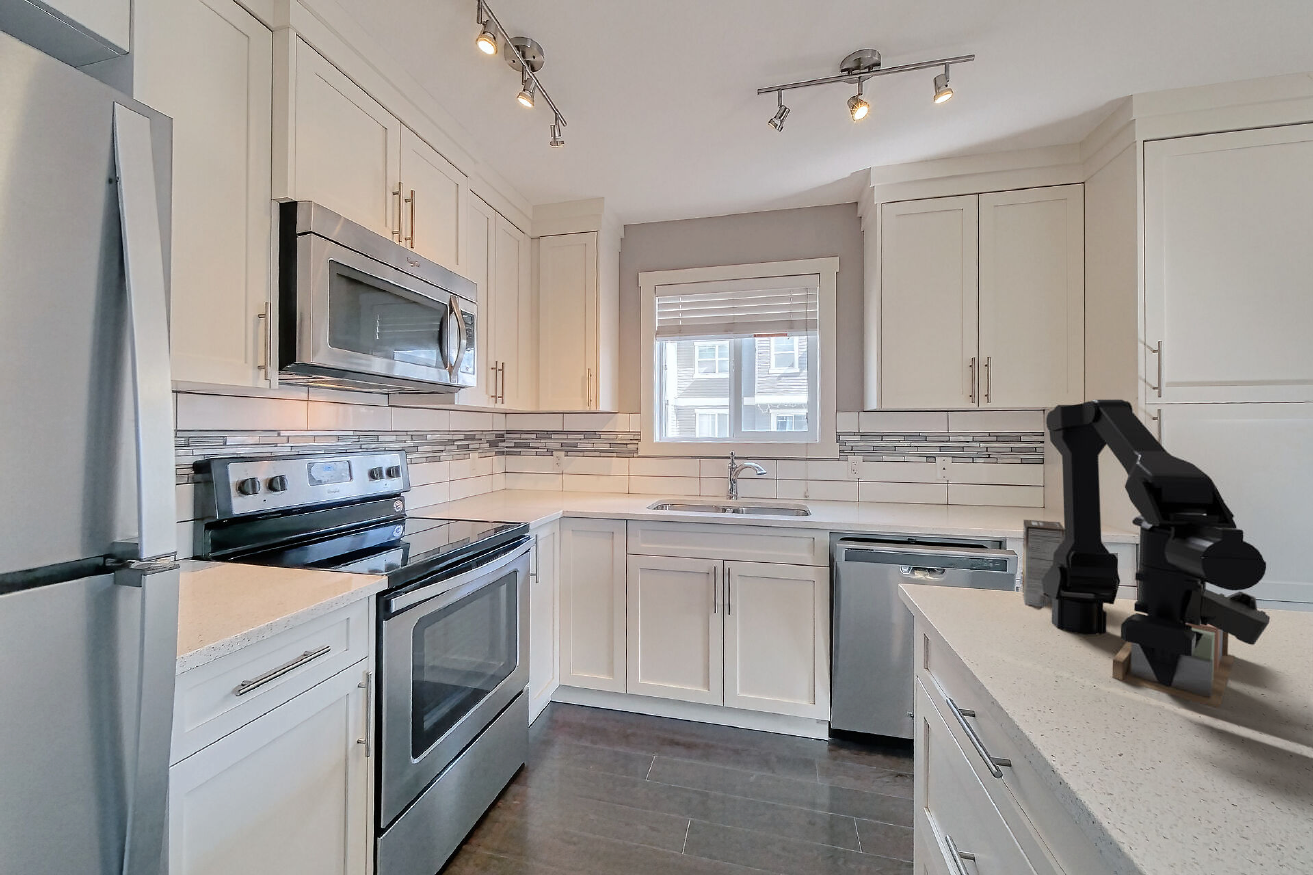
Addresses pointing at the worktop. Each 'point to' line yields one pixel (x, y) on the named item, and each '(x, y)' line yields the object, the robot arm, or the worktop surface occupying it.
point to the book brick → (1216, 643)
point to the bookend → (1178, 672)
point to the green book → (1205, 646)
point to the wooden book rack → (1218, 686)
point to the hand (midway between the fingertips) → (1165, 684)
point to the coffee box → (1039, 558)
